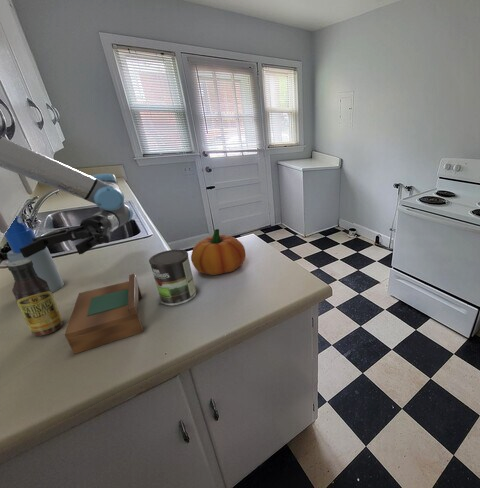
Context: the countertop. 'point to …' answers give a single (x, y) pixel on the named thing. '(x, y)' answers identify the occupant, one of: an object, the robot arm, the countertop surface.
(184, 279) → the large food can
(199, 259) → the pumpkin
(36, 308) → the sauce bottle
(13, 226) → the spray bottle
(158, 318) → the countertop surface
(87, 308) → the brown wooden box
